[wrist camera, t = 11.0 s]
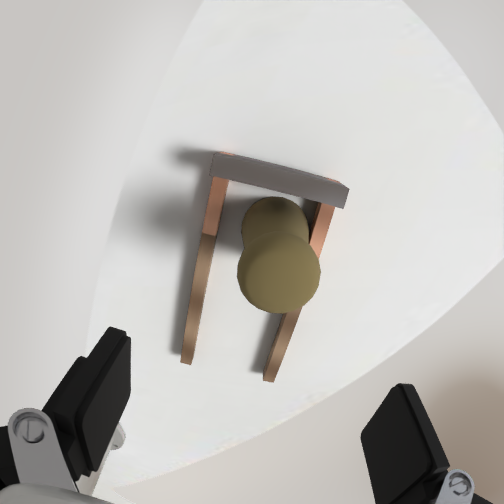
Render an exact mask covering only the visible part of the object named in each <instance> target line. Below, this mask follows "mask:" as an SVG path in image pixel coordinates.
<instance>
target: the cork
mask: <svg viewBox="0 0 504 504" xmlns="http://www.w3.org/2000/svg"><path fill="white" fill-rule="evenodd" d="M241 233H242V238H243V243H244V251H243V253H242V255H241V257H240V260H239V262H238V269H237V279H238V282H239V286H240V289H241V291H242V293H243V295H244V296H245V297H246V299H247V300H248V301H249V302H250V303H251V304H252V305H254V306H255V307H257V308H258V309H261V310H263V311H266V312H269V313H280V314H282V313H287V312H292V311H294V310H296V309H298V308H300V307H302V306H304V305H305V304H306V303H307V302H308V301H309V300H310V299H311V298H312V297H313V295H314V294H315V292H316V290H317V288H318V285H319V279H320V273H321V270H320V265H319V260H318V257H317V255H316V254H315V252H314V250H313V249H312V247H311V245H309V226H308V222H307V217H306V215H305V214H304V212H303V210H302V209H301V208H300V207H299V206H298V205H297V204H296V203H294V202H293V201H291V200H288V199H286V198H283V197H269V198H264V199H261V200H260V201H258V202H256V203H255V204H253V205H252V206H251V207H250V208H249V210H248V211H247V212H246V213H245V216H244V218H243V221H242V231H241Z"/></svg>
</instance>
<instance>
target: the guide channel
mask: <svg viewBox="0 0 504 504" xmlns="http://www.w3.org/2000/svg"><path fill="white" fill-rule="evenodd" d="M209 175H210V176H213V180H212V185H211V190H210V194H209V199H208V204H207V209H206V214H205V219H204V224H203V229H202V235H201V240H200V245H199V251H198V256H197V261H196V267H195V273H194V278H193V284H192V290H191V296H190V302H189V308H188V314H187V321H186V327H185V334H184V340H183V347H182V354H181V361H180V362H181V363H185V364H189V365H191V363H192V360H193V357H194V351H195V346H196V340H197V334H198V329H199V323H200V318H201V313H202V307H203V302H204V297H205V292H206V286H207V281H208V276H209V271H210V266H211V261H212V256H213V251H214V247H215V242H216V237H217V232H218V228H219V223H220V218H221V213H222V209H223V204H224V200H225V195H226V191H227V186H228V182H229V180H232V181H237V182H241V183H245V184H250V185H254V186H258V187H262V188H266V189H270V190H274V191H278V192H282V193H286V194H290V195H294V196H298V197H302V198H305V199H309V200H313V201H317V202H318V205H317V208H316V211H315V215H314V218H313V222H312V225H311V228H310V232H309V245H311V247H312V249H313V250H314V252H315V254H316V255H317V257H318V259H319V256H320V253H321V250H322V247H323V244H324V241H325V238H326V235H327V232H328V229H329V225H330V222H331V219H332V216H333V212H334V209H335V207H338V208H342V209H344V205H345V202H346V199H347V196H348V192H349V188H347V187H346V186H344V185H343V184H341V183H340V182H338V181H335V180H332V179H329V178H325V177H322V176H318V175H314V174H311V173H307V172H304V171H300V170H296V169H292V168H288V167H285V166H281V165H277V164H273V163H269V162H265V161H260V160H256V159H252V158H248V157H243V156H239V155H234V154H230V153H225V152H219V153H216V154H214V155H213V160H212V165H211V169H210V174H209ZM301 309H302V307H300V308H298V309H296V310H294V311H292V312H287V313H283V316H282V319H281V322H280V325H279V328H278V331H277V334H276V337H275V340H274V342H273V345H272V348H271V351H270V354H269V357H268V359H267V362H266V365H265V368H264V371H263V381H268V382H274V380H275V377H276V375H277V372H278V370H279V367H280V365H281V362H282V360H283V357H284V355H285V352H286V349H287V347H288V344H289V341H290V339H291V336H292V333H293V331H294V328H295V325H296V323H297V320H298V317H299V314H300V312H301Z"/></svg>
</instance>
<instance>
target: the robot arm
mask: <svg viewBox="0 0 504 504" xmlns="http://www.w3.org/2000/svg"><path fill="white" fill-rule="evenodd" d="M130 392H131V338H130V337H128V336H126V332H125V331H123V330H120V329H117V328H113V327H109V328H108V329H107V330H106V332H105V333H104V334H103V336H102V337H101V339H100V340H99V342H98V343H97V344H96V346H95V347H94V349H93V350H92V352H91V353H90V354H89V356H88V357H87V358H85V357H83V356H80V357H78V358H77V360H76V361H75V362H74V364H73V365H72V367H71V368H70V369H69V371H68V372H67V374H66V375H65V376H64V378H63V379H62V381H61V382H60V384H59V385H58V387H57V388H56V390H55V391H54V392H53V394H52V395H51V397H50V399H49V400H48V402H47V403H46V405H45V406H44V407H43V409H42V411H40V410H38V409H34V408H24V409H21V410H18V411H17V412H15V413H14V414H13V415H12V416H11V418H10V419H9V422H8V426H4V427H0V504H114V503H111V502H107V501H104V500H101V499H98V498H95V497H92V494H93V491H94V489H95V486H96V484H97V481H98V479H99V476H100V474H101V471H102V469H103V466H104V464H105V461H106V459H107V456H108V454H109V452H110V450H116V449H119V448H120V447H122V445H123V443H124V440H125V434H124V431H123V429H122V428H121V426H120V425H119V424H118V422H119V420H120V418H121V416H122V413H123V411H124V409H125V407H126V404H127V402H128V400H129V397H130ZM361 443H362V447H363V450H364V455H365V458H366V463H367V467H368V471H369V476H370V480H371V484H372V489H373V493H374V498H375V503H376V504H493V503H491V502H489V501H487V500H485V499H484V498H482V497H480V496H478V495H477V494H475V493H474V487H475V486H474V481H473V479H472V478H471V476H470V475H469V474H468V473H466V472H465V471H463V470H460V469H454V470H451V471H450V472H448V471H447V469H448V468H449V467H450V465H449V462H448V460H447V457H446V455H445V453H444V451H443V448H442V446H441V443H440V441H439V439H438V437H437V434H436V432H435V430H434V428H433V425H432V423H431V421H430V419H429V417H428V415H427V412H426V410H425V408H424V406H423V404H422V402H421V400H420V398H419V395H418V393H417V392H416V389H415V387H414V386H413V385H412V384H401V383H399V384H397V385H396V386H395V387H393V388H392V389H391V390H390V392H389V393H388V395H387V396H386V398H385V399H384V401H383V402H382V404H381V405H380V407H379V408H378V409H377V411H376V412H375V414H374V415H373V417H372V418H371V419H370V421H369V422H368V424H367V425H366V426H365V428H364V429H363V431H362V433H361Z"/></svg>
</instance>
